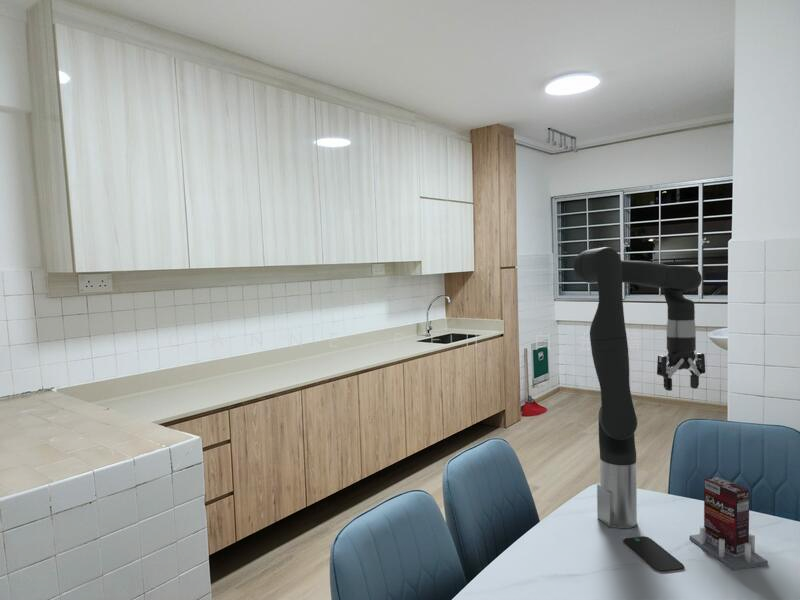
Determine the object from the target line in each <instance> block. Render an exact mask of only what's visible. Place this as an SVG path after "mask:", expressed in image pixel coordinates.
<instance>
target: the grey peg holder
mask: <svg viewBox="0 0 800 600" xmlns="http://www.w3.org/2000/svg"><path fill="white" fill-rule="evenodd" d="M689 540H690V541H691V542H693V543H695V544H696V545H697V546H698V547H700V548H702V549H703V550H705V551H706V552H707V553H709V554H710V555H711V556H713V557H715V558H716V559H717V560H719V561H720V562H722V563H723V564H725V565H726V566H727V567H729V568H730V569H732V570H733V571H736V570H743V569H749V568H756V567H757V568H758V567H761V566H762V567H763V566H768V565H769V560H768V559H766V558H764V557H763V556H762V555H760V554H758V553H756V535H755V534H752V533H749V543H745V555H742V556H739V557H736V558H735V557H733V556H732V555H730V554H728V553H726V552H725V540H724V539H721V538H720V539H719V548H717V547H715V546H713V545H711V544H710V543H708V542H706V528H705V527H704V525H703V526H699V533H697V534H692V535H689Z"/></svg>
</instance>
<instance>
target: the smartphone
mask: <svg viewBox="0 0 800 600" xmlns="http://www.w3.org/2000/svg"><path fill="white" fill-rule="evenodd" d="M622 544H623V545H625V546H626V547H627V549H629V550H630V551H631V552H633V554H635V555H636V556H637V557H638V558H639V559H640V560H641V561H643V562H644V563H645V565H647V566H648V567H649V568H650V569H651V570H653V571H654V572H657V573H659V574H668V573H676V572H682V571H685V569H686V568H685V565H684V564H683V563H682V562H681V561H679V559H677V558H676V557H675V556H673V555H672V554H671V553H670V552H668V551H667V550H665V548H664V547H662V546H661V545H659V544H658V543H657V542H656V541H655V540H653V539H652V538H650V537H649V536H644V535H643V536H633V537H632V536H631V537H627V538H623V539H622Z"/></svg>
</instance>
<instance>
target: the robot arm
mask: <svg viewBox="0 0 800 600" xmlns="http://www.w3.org/2000/svg"><path fill="white" fill-rule="evenodd" d="M572 268H573V271H574V274H575V276H576V277H577V278H578V279H579V280H580V281H582V282H584V283H590V284H597V289H598V290H597V291H598V304H597V308H596V312H595V314H594V317H593V318H592V322H591V324H590V328H589V329H590V330H589V339H590V340H589V341H590V349H591V355H592V361H593V364H594V368H595V373H596V376H597V377H596V378H597V380H598V383H599V388H600V400H601V406H600V408H599V410H598V446H599V447H598V448H599V483H598V484H597V485H596V498H597V500H596V502H597V504H596V505H597V506H596V508H597V509H596V512H597V513H596V514H597V518H598V519H599V520H600V521H601V522H603V523H604V524H605V525H606V526H607V527H609V528H617V529H630V528H635V527H636V526H637V523H638V516H637V515H638V513H637V512H638V511H637V510H638V509H637V506H638V504H637V503H638V501H637V499H638V497H637V492H638V491H637V450H636V449H637V447H636V442H635V440H636V439H635V432H636V431H637V428H638V418H637V414H636V411H635V407H634V403H633V398H632V393H631V387H630V357H629V344H628V338H627V336H628V335H627V329H626V323H625V312H624V302H623V301H624V300H623V283H624V284H632V285H637V286H643V287H650V288H658V289H660V288H661V289H662V292H663V296H664V299H665V302H666V304H667V322H666V323H667V324H666V349H667V355H661V354H658V356H657V362H656V363H657V367H656V375H657V376H661V377H663V388H664V390H666V391H669V392H670V391H673V378H672V377H673V376H674V375H675V373H676V372H677V371H678V370H679V371H680V370H681V371H682V370H687V371H688V372H689V373H690V375H689V376H690V383H689V384H690V385H689V386H690V388H692V389H693V390H694V389H695V390H696V389H698V388H699V385H700V376H701V375H703V374H704V375H705V374H706V359H705V353H701V352H695V351H696V348H697V344H696V343H697V342H696V341H697V340H696V338H697V335H696V333H697V332H696V331H697V329H696V328H697V327H696V322H695V321H696V320H695V319H696V317H695V316H696V313H695V312H696V311H695V302H694V300H692V299H688V298H686V297H685V296H684V294H683V292H692V291H695V290H696V289H698V288H699V287H700V286H701V284H702V281H703V280H702V278H703V277H702V274H701V273H700V271H699V270H698V269H696V267H693V266H687V265H670V264H665V263H661V262H655V261H654V262H653V261H647V260H622V259H621V257H620V254H619V252H618V251H617V250H616V249H614V248H613V247H611V246H604V247H598V248H597V247H596V248H592V249H591V248H590V249H587V250H584V251H581V252H580V253H578V255H577V256H575V259H574V261H573V266H572ZM694 361H695V362H694Z"/></svg>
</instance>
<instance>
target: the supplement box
mask: <svg viewBox="0 0 800 600" xmlns="http://www.w3.org/2000/svg"><path fill="white" fill-rule="evenodd" d="M703 495H704V496H703V527H705V528H706V542H708V543H710V544H711V545H713V546H715V547H717V548H719V539H720V538H721V539H724V540H725V552H726V553H728V554H730V555H732V556H733V557H735V558H736V557H739V556H742V555H745V543H749V534H750V489H748V488H747V487H744V486H740V485H739V484H736V483H733V482H731V481H728V480H727V479H726V480H725V479H723V478H721V477H719V476H713V477H710V478H706V479H704V481H703Z"/></svg>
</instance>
